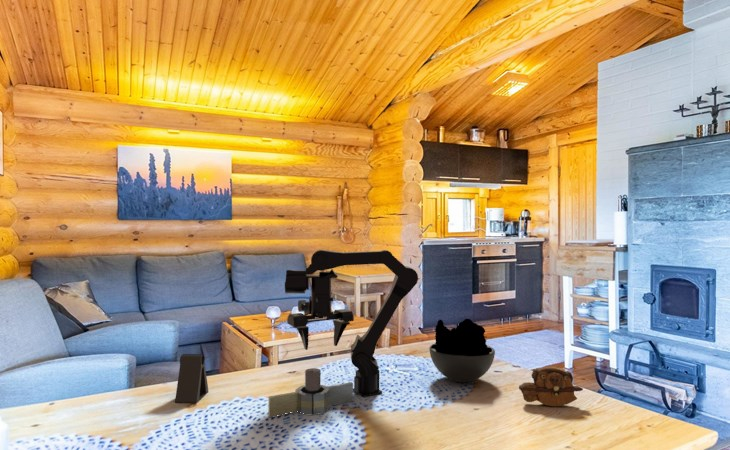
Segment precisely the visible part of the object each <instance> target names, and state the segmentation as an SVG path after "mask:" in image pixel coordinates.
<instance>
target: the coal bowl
mask: <svg viewBox="0 0 730 450" xmlns="http://www.w3.org/2000/svg"><path fill="white" fill-rule="evenodd" d="M434 328H435V329H434V332H435V336H434V337H435V338H434V339H435V343H432V344H431V345H429V348H428V349H429V355H430V358H431V361H432V363H433V365H434V367H435V368H436V370H437V371H438V372H439V373H440V374H442V376H444V377H445V378H447V379H449V380H452V381H455V382H460V383H467V382H469V383H470V382H472V381H476V380H478V379H480V378H481V377H483V376H484V375H485V374H487V372H488V371H490V368H491V367H492V365H493V362H494V359H495V355H496V350H495V349H494V348H493V347H492V346H489V345H487V339H486V337H485V332H486V329H485V327H483V326H482V325H479V324H477V323H475V322H474V321H473V320H471V318H465V319H463V320H462V321H459V322H458V325H457V326H456V327H452V328H451V329H449V328H448V327H447V326H446V325H444V320H442V319H441V318H440V319H438V321H437V323H436V326H435V327H434Z"/></svg>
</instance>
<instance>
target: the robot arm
mask: <svg viewBox="0 0 730 450" xmlns="http://www.w3.org/2000/svg"><path fill="white" fill-rule="evenodd" d="M310 258H311V259H310V263H309V266H306V268H305V269H303V270H298V269H297V270H296V269H287V270H286V274H285V281H284V293H285V294H306V291H309V290H310V291H311V294H310V296H309V297H308V299H309V301H307V300H305V299H301V300H300V299H299V300H298V301H297V310H298V312H297V313H289V314H288V316H287V317H286V318H287V319H286V320H287V325H289V326H291V327H292V328H295V329H296V330H297V332H298V333H299V335H300V339H301V341H302V344H303V347H304V350H305V351H308V348H309V330H310V329H309V326H307V325H308V323H315V322H323V321H325V322H326V321H332V322H333V326H334V327H333V328H334V329H333V346H334V347H336V346H338V344H339V342H340V340H341V337H342V335H343V333H344V331H345V330H346V328H347V326H348V325H351V322H354V321H355V314H354V313H353V310H352V311H351V310H350V309H345V308H343V309H334V311H333V310H332V302H334V297H332V279H338V277H339V276H338V273H336V272H335V271H334V268H340V267H344V266H360V265H363V266H364V265H382V264H383V265H385V267H387V269H389V270H390V271H391V272H392V274H394V277H393V280H392V283H391V288H390V291H389V293H388V295H387V296H386V298H385V299H384V301H383V303H382V305H381V306H380V308H379V310H378V311H377V313H376V315H375V317H374V319H373V320H372V322H371V323H370V325H369V327H368V329H367V330H366V332H365V333H364V334H363V335H362V336H360V335H359V334H357V335H356V337H355V340H354V342H353V343H352V344H351V345H350V360H351V363H352V364H353V366H354V367H355V368H357V370H355V375H354V378H353V381H354V382H353V392H355V393H357V394H358V395H360V396H361V397H362V398H363V397H364V398H365V397H369V396H373V395H374V394H375V395H379V393H380V394H383V390H381V389H380V370H379V369H380V368H379V365H378V360H377V359H376V358H375V357H374V354H375V350H376V348H377V345H378V344H377V343H378V341H379V339H380V338H381V336H382V334H383V333H384V330H385V329H386V328H387V325H388V324H389V322H390V320H391V319H392V317H393V315H394V314H395V312H396V310H397V308H398V306H399V305H400V303H401V301H402V300H403V299H404V298H405V297H406V296H407V295H408V294H409V293H410V292H411V291H412V290H413V289H414V287H415V286H416V285H417V284H418V281H419V275H418V273H417V271H416V270H415V269H414V268H412V267H410V266H408V265H407V266H405V265H404V264H403V263H402V262H401V261H400V260H398V258H396V257H395V256H394V255H393V253H392V252H391V251H389V250H388V249H383V250H373V251H372V250H370V251H367V250H366V251H349V252H348V251H347V252H343V251H336V250H330V249H318V250H316V251H315V252H314V253H313V254H312V256H311V257H310ZM326 270H330V271H326ZM317 271H319V272H318V273H319V274H315V273H316V272H317ZM310 279H311V280H310ZM310 281H311V289H310ZM301 312H303V313H301ZM375 395H374V396H375Z"/></svg>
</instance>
